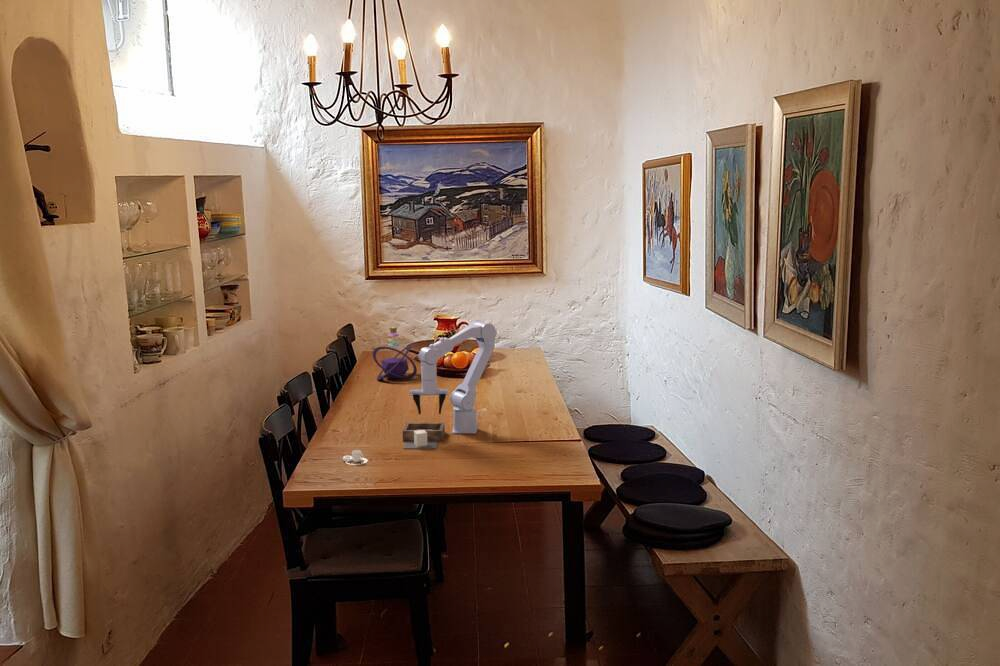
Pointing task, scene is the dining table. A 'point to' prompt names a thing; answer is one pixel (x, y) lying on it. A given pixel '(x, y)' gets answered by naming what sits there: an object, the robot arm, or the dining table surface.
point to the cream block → (420, 438)
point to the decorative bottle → (395, 360)
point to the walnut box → (433, 430)
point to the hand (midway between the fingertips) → (429, 413)
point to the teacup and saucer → (355, 458)
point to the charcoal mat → (429, 446)
